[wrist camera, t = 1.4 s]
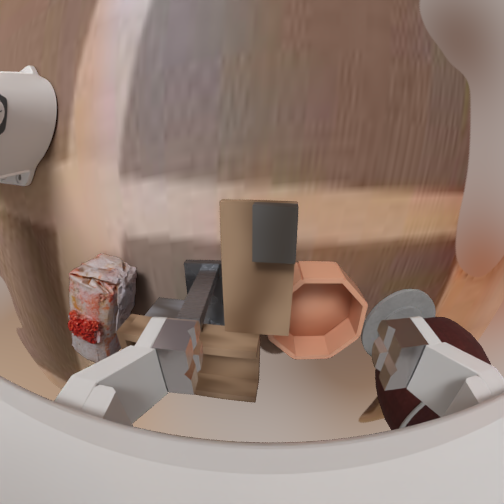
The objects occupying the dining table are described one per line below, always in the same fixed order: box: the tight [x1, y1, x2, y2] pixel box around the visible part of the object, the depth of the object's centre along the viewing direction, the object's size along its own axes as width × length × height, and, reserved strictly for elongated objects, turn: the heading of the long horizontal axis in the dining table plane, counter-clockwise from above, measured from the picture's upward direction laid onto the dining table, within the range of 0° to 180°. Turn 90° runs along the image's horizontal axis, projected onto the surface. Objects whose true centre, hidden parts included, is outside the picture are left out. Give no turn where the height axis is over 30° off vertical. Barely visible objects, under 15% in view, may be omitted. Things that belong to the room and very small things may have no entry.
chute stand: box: [177, 260, 225, 329], centre depth 30 cm, size 6×11×11 cm, turn 0°
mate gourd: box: [361, 289, 491, 430], centre depth 26 cm, size 16×14×20 cm
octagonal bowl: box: [268, 261, 368, 359], centre depth 32 cm, size 11×11×4 cm
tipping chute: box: [116, 199, 298, 402], centre depth 25 cm, size 15×18×8 cm
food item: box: [68, 253, 137, 363], centre depth 31 cm, size 14×8×10 cm, turn 162°
